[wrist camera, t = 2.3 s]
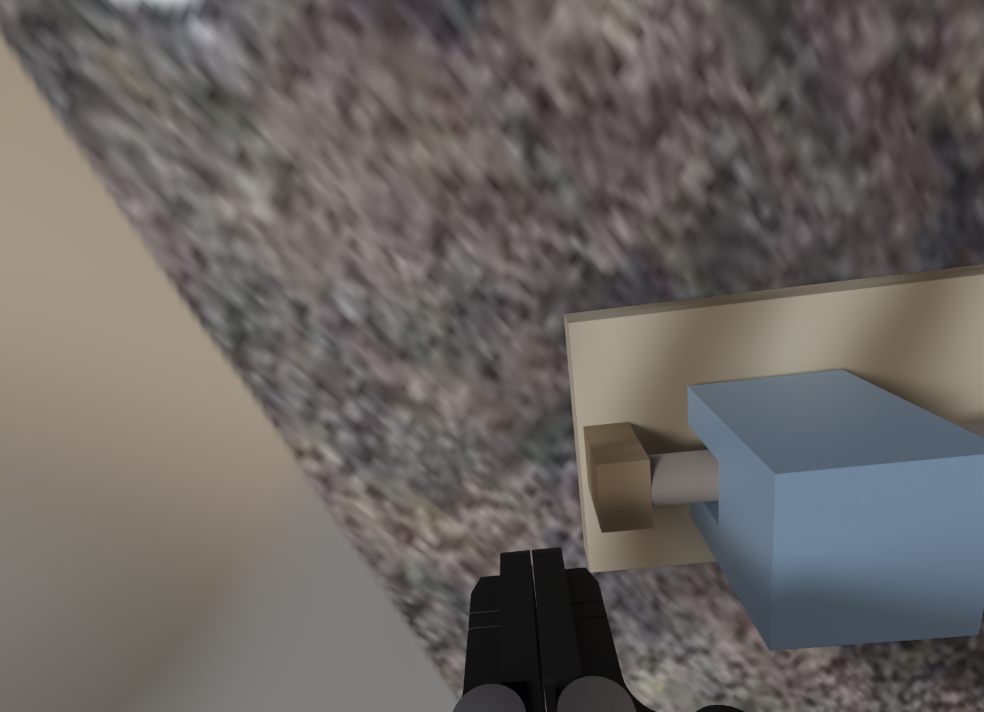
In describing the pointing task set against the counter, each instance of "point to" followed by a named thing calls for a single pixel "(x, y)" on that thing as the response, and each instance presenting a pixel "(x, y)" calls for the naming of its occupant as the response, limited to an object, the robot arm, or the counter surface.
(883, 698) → the counter surface
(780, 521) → the blue sleeve
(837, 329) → the rail board
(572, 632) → the robot arm
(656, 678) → the counter surface
